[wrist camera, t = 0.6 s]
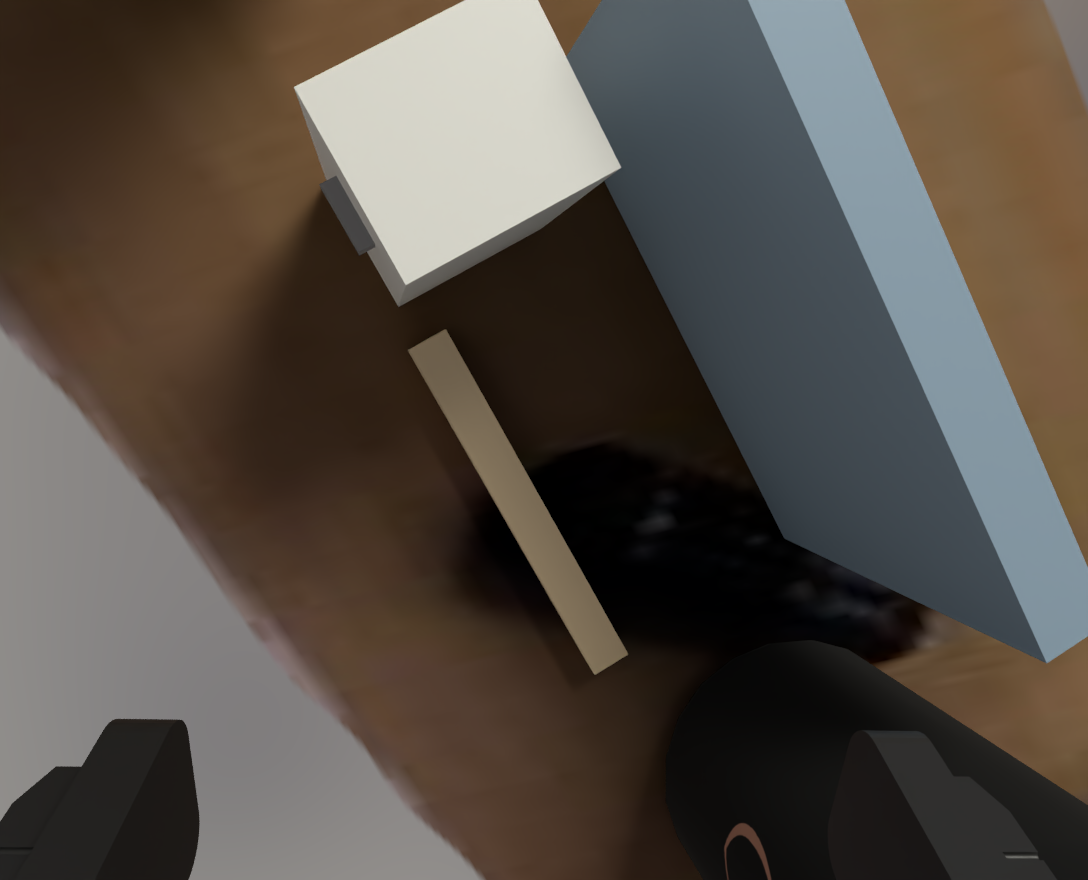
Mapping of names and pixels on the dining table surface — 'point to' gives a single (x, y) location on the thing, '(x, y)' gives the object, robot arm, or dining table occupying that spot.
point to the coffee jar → (824, 764)
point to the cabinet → (454, 141)
